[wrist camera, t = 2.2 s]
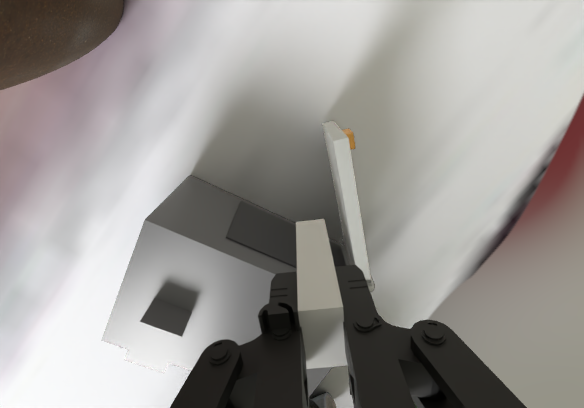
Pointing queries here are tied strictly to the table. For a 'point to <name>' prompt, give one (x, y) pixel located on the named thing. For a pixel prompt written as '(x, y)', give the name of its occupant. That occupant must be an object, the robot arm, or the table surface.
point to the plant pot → (50, 34)
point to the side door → (347, 196)
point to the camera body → (202, 277)
